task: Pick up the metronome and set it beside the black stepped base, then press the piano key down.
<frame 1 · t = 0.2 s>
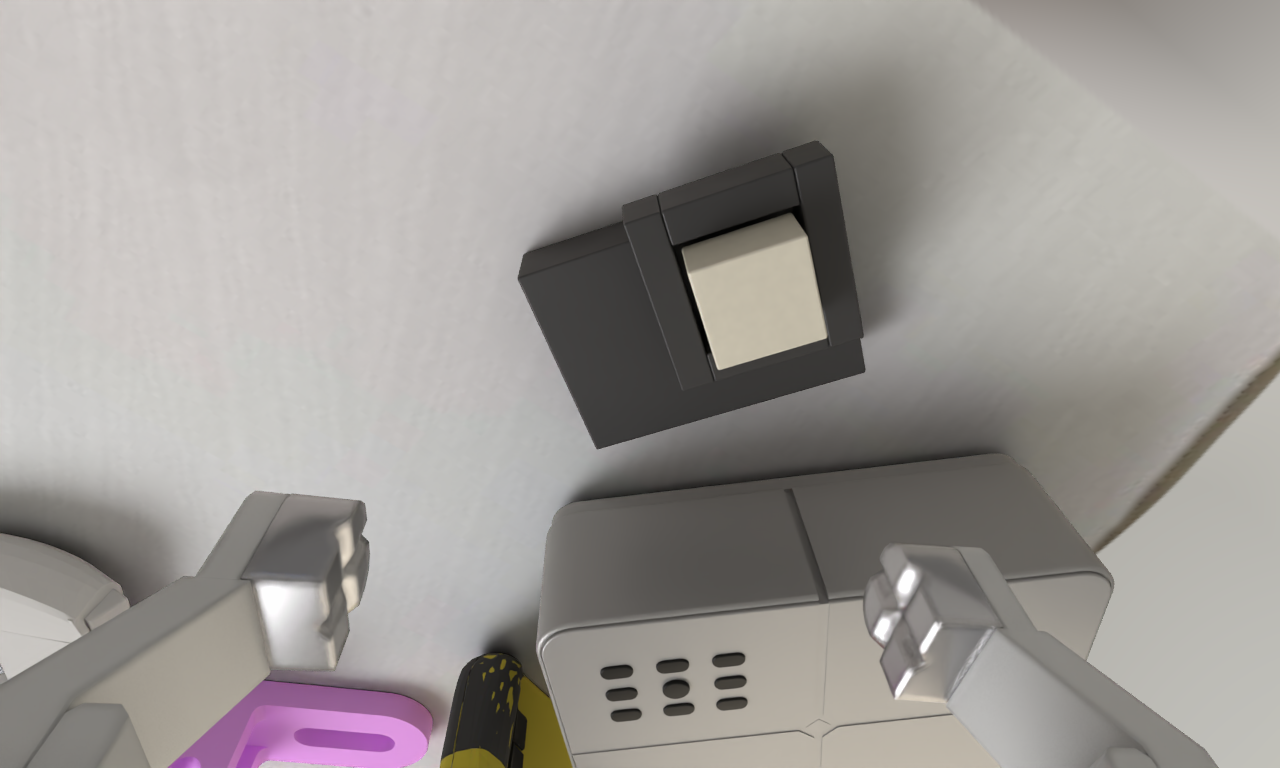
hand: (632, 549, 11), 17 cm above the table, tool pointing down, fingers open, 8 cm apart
gaming console: (595, 743, 44), on the table
piano key: (754, 292, 22), point 5 cm above the table, slide at 0.1 cm
black stepped base: (694, 301, 27), on the table
projector: (779, 584, 36), on the table
bracket: (320, 711, 41), on the table
game controller: (61, 613, 35), on the table
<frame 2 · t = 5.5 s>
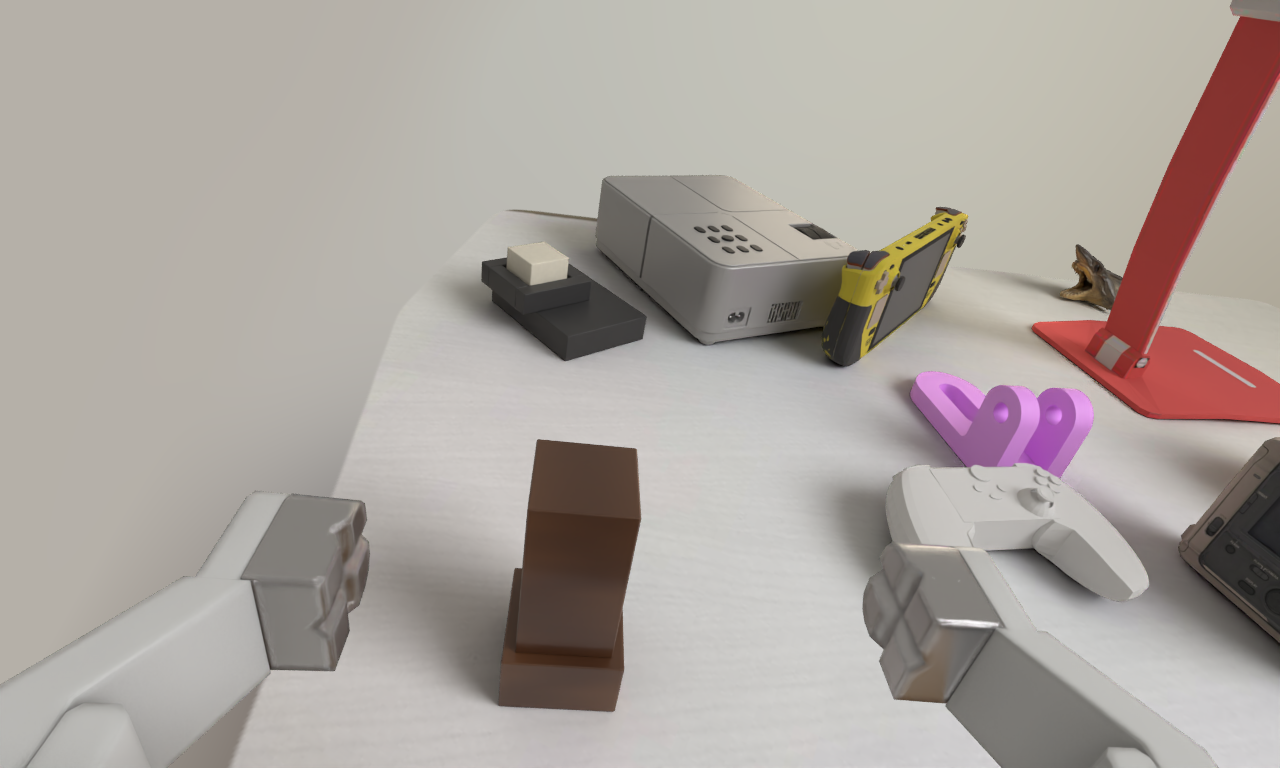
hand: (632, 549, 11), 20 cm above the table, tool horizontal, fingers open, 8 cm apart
metronome: (560, 658, 32), on the table
gaming console: (882, 329, 67), on the table
piano key: (537, 264, 56), point 5 cm above the table, slide at 0.1 cm
black stepped base: (566, 319, 59), on the table
projector: (709, 287, 69), on the table
shark head: (1077, 302, 82), on the table
bracket: (967, 433, 54), on the table
camera: (1267, 621, 41), on the table
desk lamp: (1190, 374, 70), on the table
game controller: (985, 558, 42), on the table
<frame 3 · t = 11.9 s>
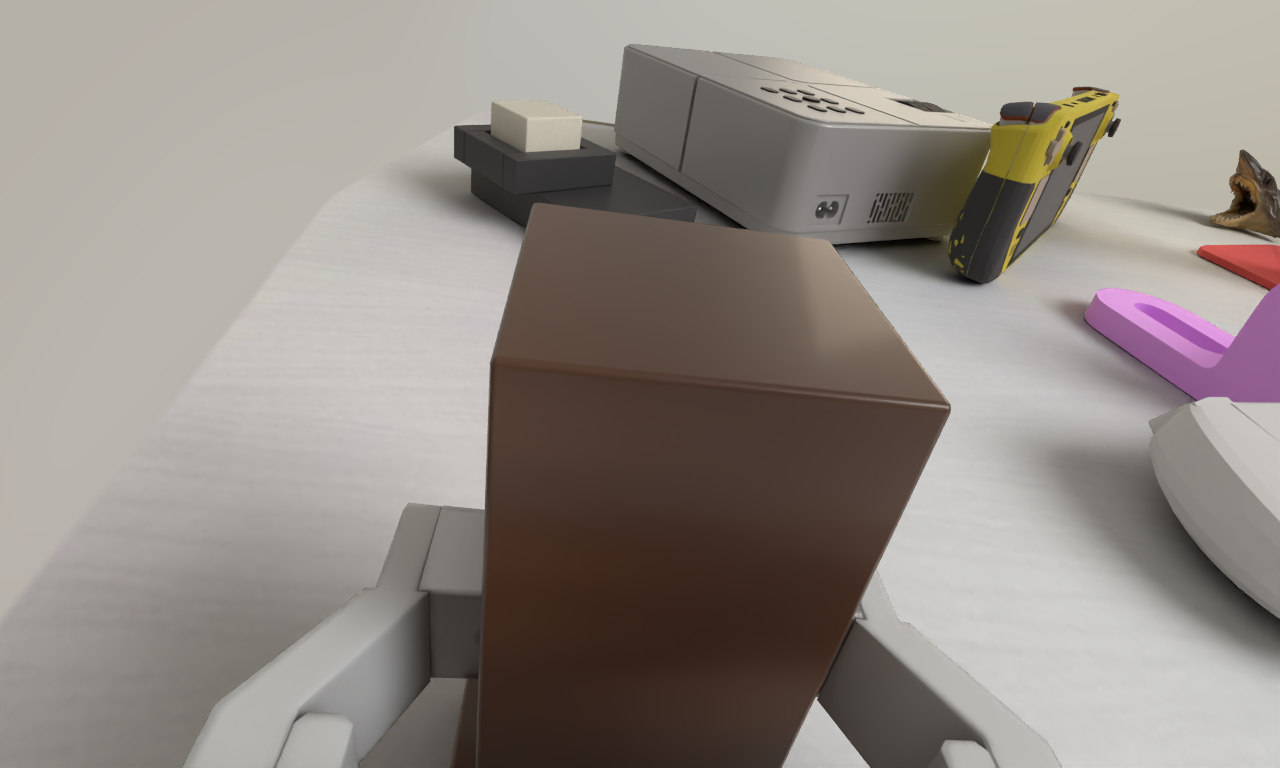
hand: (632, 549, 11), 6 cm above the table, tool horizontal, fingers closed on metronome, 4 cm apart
gaming console: (1010, 247, 49), on the table
piano key: (536, 128, 38), point 5 cm above the table, slide at 0.1 cm
black stepped base: (578, 217, 41), on the table
projector: (769, 194, 51), on the table
shark head: (1231, 231, 64), on the table
bracket: (1190, 372, 35), on the table
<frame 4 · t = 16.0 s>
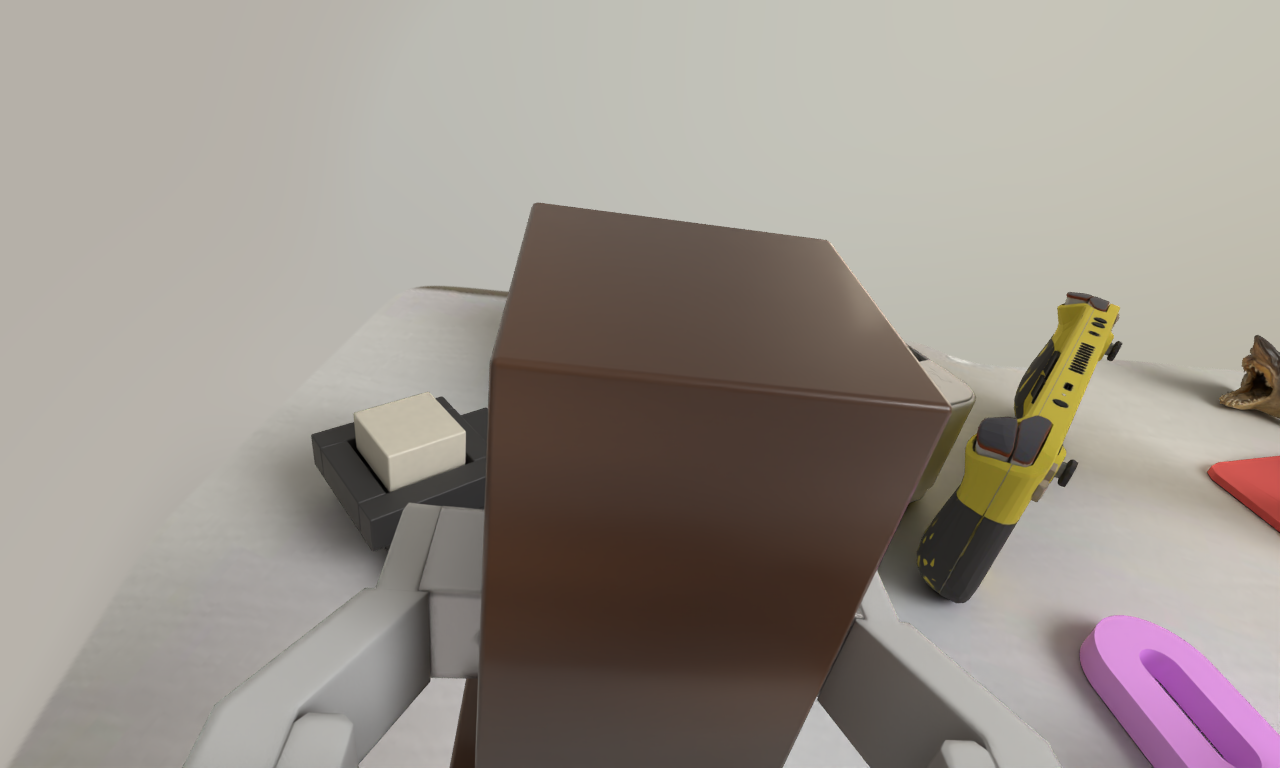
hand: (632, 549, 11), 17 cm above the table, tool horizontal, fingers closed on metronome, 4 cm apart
gaming console: (994, 495, 42), on the table
piano key: (410, 439, 31), point 5 cm above the table, slide at 0.1 cm
black stepped base: (470, 523, 34), on the table
projector: (717, 423, 44), on the table
shark head: (1243, 411, 57), on the table
when the fingers open (6 cm above the table, at t = 20.2 s): metronome stays where it is, on the table.
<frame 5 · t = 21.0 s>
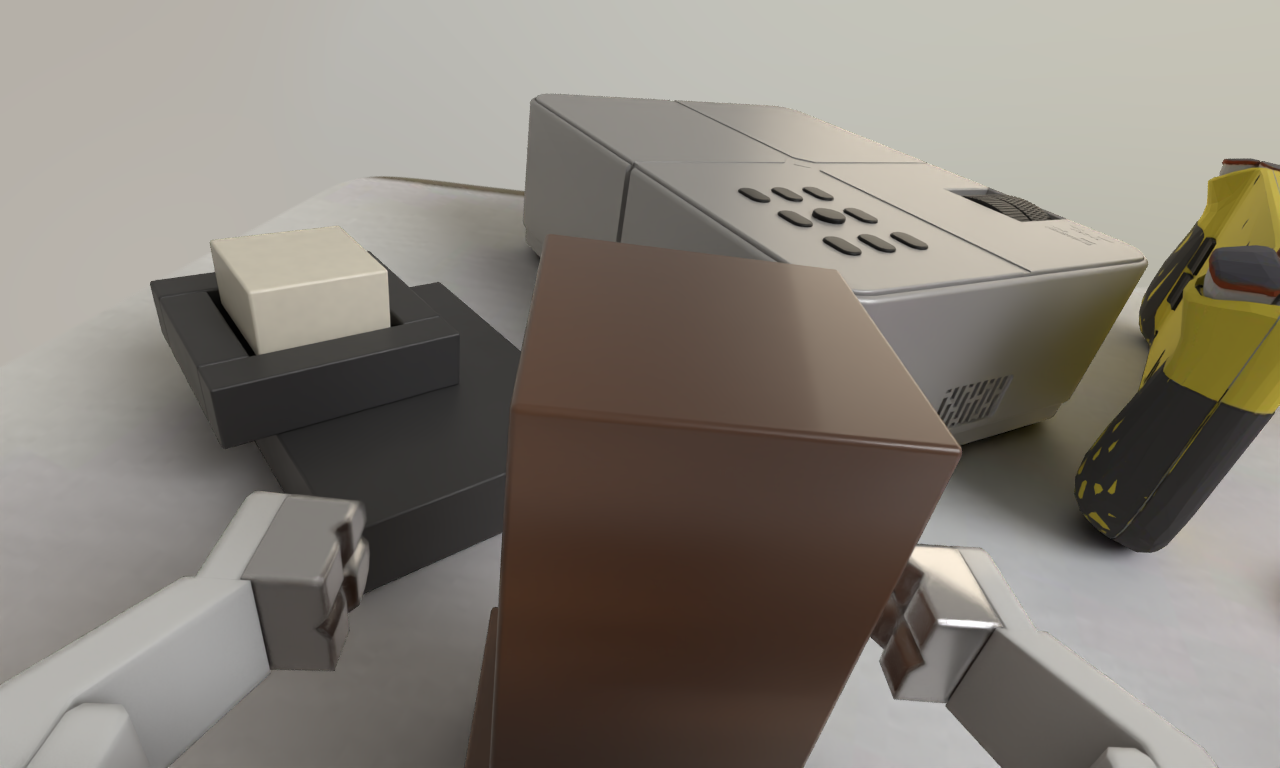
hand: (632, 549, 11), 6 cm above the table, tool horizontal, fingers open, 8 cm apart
gaming console: (1141, 420, 31), on the table
piano key: (302, 287, 20), point 5 cm above the table, slide at 0.1 cm
black stepped base: (405, 431, 22), on the table
projector: (758, 328, 33), on the table
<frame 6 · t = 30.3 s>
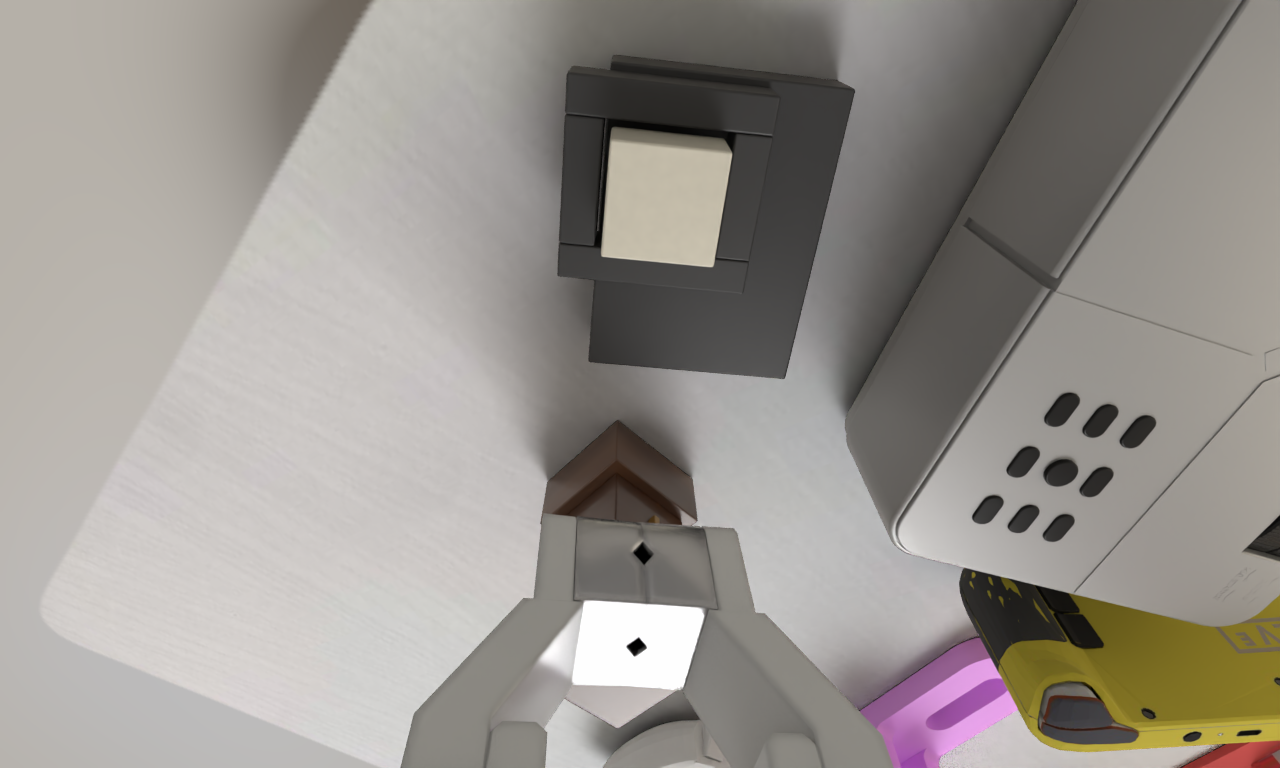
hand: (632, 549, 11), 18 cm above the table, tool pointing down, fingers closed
metronome: (620, 480, 33), on the table
gaming console: (1189, 540, 36), on the table
piano key: (663, 197, 22), point 5 cm above the table, slide at 0.1 cm
black stepped base: (703, 221, 27), on the table
projector: (1125, 266, 28), on the table
bracket: (931, 696, 42), on the table
game controller: (716, 756, 45), on the table
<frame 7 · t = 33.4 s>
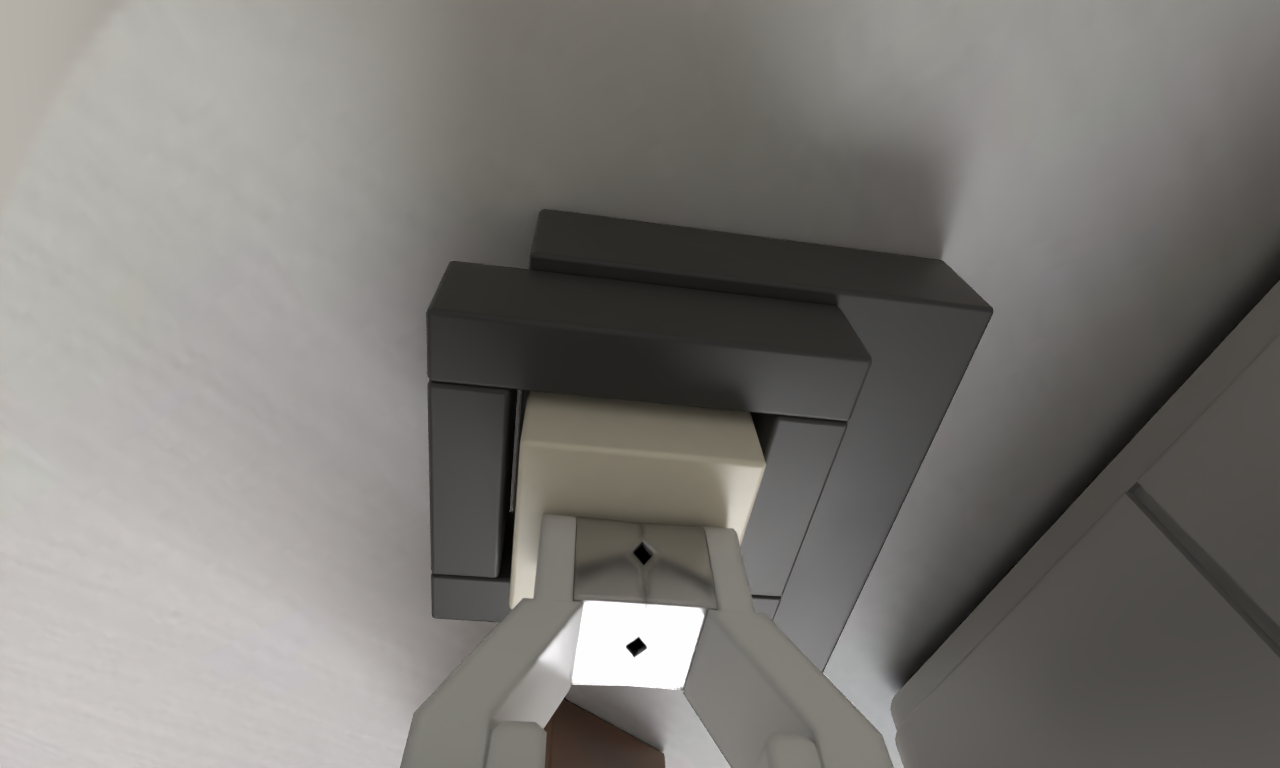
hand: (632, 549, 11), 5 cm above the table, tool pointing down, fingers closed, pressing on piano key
metronome: (558, 756, 23), on the table
piano key: (627, 498, 12), point 4 cm above the table, slide at -0.7 cm, touching gripper
black stepped base: (694, 456, 16), on the table
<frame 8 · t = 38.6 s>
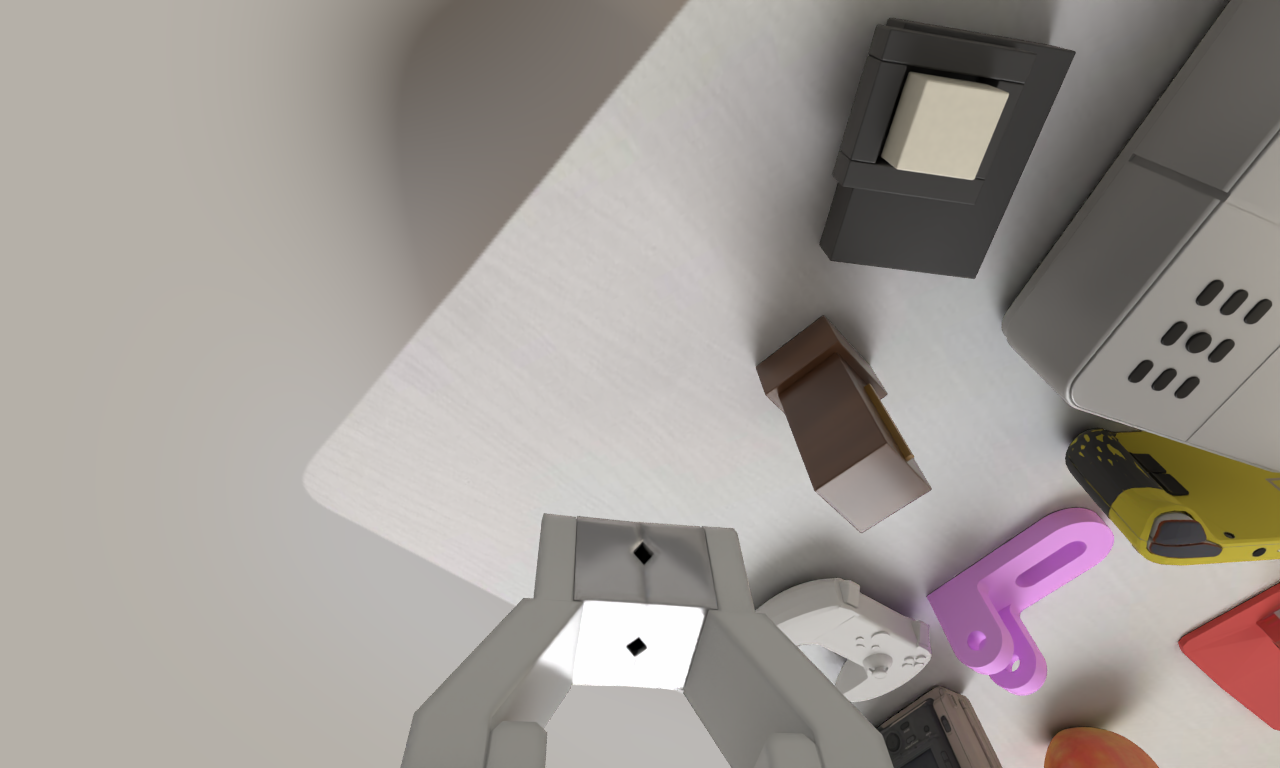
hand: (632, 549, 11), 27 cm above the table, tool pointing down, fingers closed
metronome: (813, 367, 41), on the table
gaming console: (1239, 427, 46), on the table
piano key: (941, 126, 30), point 5 cm above the table, slide at 0.1 cm
black stepped base: (926, 152, 35), on the table
projector: (1229, 200, 37), on the table
bracket: (1017, 562, 52), on the table
camera: (906, 714, 63), on the table
apple: (1069, 732, 65), on the table
game controller: (833, 616, 55), on the table
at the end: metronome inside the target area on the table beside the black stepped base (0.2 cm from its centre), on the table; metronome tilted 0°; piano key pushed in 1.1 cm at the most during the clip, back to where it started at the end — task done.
